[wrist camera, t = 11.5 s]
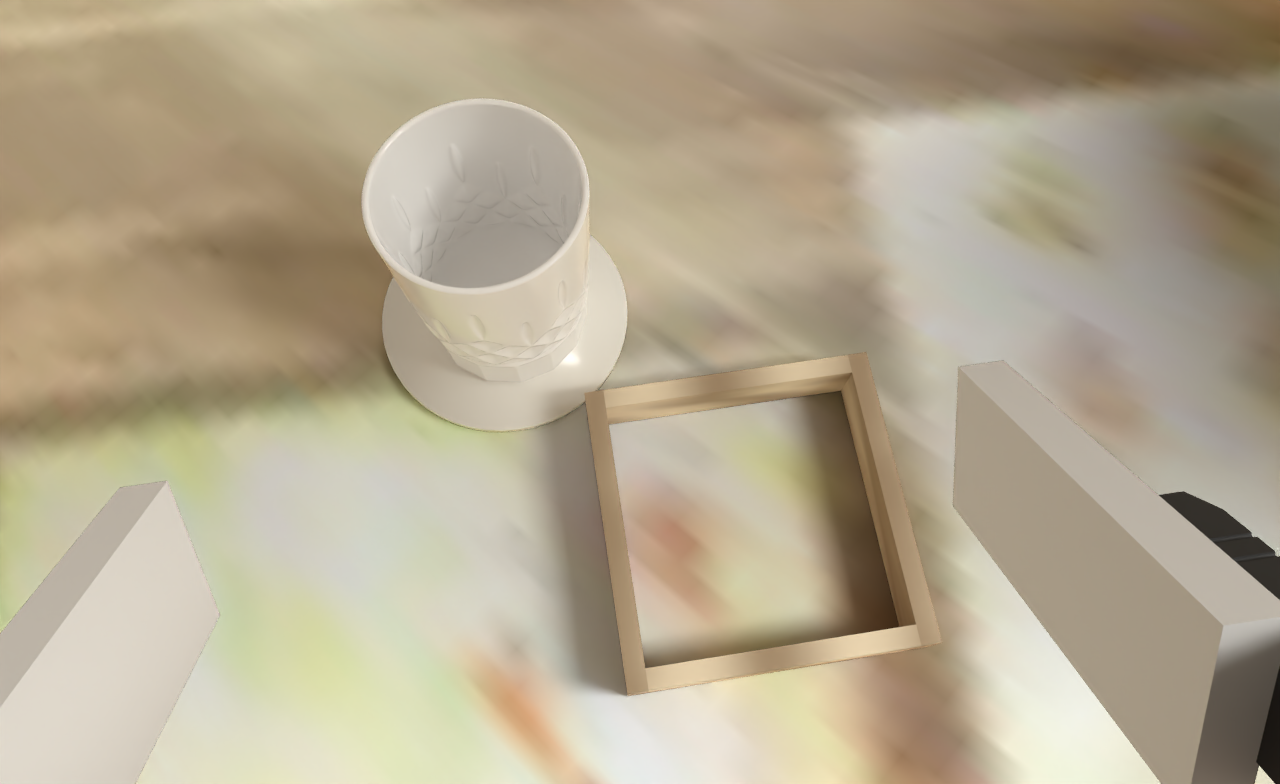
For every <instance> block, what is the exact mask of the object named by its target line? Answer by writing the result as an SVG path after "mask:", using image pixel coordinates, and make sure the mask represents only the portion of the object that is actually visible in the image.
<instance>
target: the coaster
mask: <svg viewBox="0 0 1280 784" xmlns="http://www.w3.org/2000/svg"><path fill="white" fill-rule="evenodd" d="M586 305H587V316H586V319H585V322H584V325H583V328H582V331H581V334H580V338H579V341H578V344H577V346H576V347H575V348H574V349H573V350H572V351H571V352H570V353H569V354H568V355H567V356H566V357H565V358H564V359H563V360H562V362H561V363H560V364H559V365H558V366H557V367H556V368H555V369H554V370H551V371H549V372H546V373H544V374H541V375H539V376H536V377H534V378H531V379H529V380H526V381H524V382H502V381H486V380H484V379H482V378H480V377H478V376H476V375H474V374H473V373H471V372H469V371H467V370H465V369H463V368H461V367H459V366H457V365H456V363H455V362H454V361H453V359H452V358H451V356H450V355H449V354H448V352H447V351H446V349H445V348H444V347H443V345H442V344H441V342H440V341H439V340H438V339H437V338H436V337H435V336H434V335H433V334H432V333H431V332H430V331H429V329H428V328H427V326H426V325H425V323H424V322H423V321H422V319H421V318H420V317H419V315H418V313H417V312H416V310H415V309H414V308H413V306H412V305H411V304H410V302H409V301H408V299H407V298H406V296H405V294H404V293H403V291H402V290H401V288H400V286H399V285H398V283H397V282H396V280H395V278H394V277H393V278H392V280H391V282H390V285H389V287H388V290H387V294H386V297H385V300H384V307H383V313H382V333H383V340H384V346H385V349H386V353H387V356H388V359H389V361H390V363H391V365H392V368H393V370H394V372H395V373H396V375H397V377H398V378H399V380H400V381H401V383H402V384H403V386H404V387H405V388H406V390H407V391H408V392H409V393H410V394H411V395H412V396H413V397H414V399H416V400H417V401H418V402H419V403H420V404H421V405H423V406H424V407H425V408H426V409H428V410H429V411H431V412H432V413H434V414H435V415H437V416H439V417H440V418H442V419H445V420H447V421H449V422H451V423H453V424H456V425H459V426H463V427H466V428H469V429H474V430H480V431H486V432H511V431H521V430H526V429H531V428H535V427H538V426H541V425H544V424H547V423H550V422H553V421H555V420H557V419H559V418H561V417H563V416H565V415H567V414H569V413H570V412H572V411H573V410H575V409H576V408H578V407H579V406H581V405H582V404H583V403H584V402H585V395H584V393H585V392H592V391H597V390H598V389H599V388H600V387H601V386H602V385H603V383H604V382H605V380H606V379H607V378H608V376H609V375H610V373H611V372H612V370H613V368H614V366H615V364H616V362H617V360H618V358H619V356H620V353H621V350H622V348H623V345H624V341H625V336H626V331H627V316H628V310H627V300H626V293H625V289H624V285H623V281H622V279H621V276H620V274H619V271H618V269H617V267H616V266H615V264H614V262H613V260H612V259H611V257H610V256H609V254H608V253H607V252H606V250H605V249H604V248H603V247H602V245H601V244H600V243H599V242H598V241H597V240H596V239H595V238H594V237H593V236H592V235H590V258H589V283H588V292H587V298H586Z"/></svg>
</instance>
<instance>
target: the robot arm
mask: <svg viewBox="0 0 1280 784" xmlns="http://www.w3.org/2000/svg"><path fill="white" fill-rule="evenodd" d="M953 507H954V508H955V509H956V511H957V512H958V513H959V515H960V516H961V517H962V519H963V520H964V521H965V523H966V524H967V525H968V527H969V528H970V529H971V531H972V532H973V533H974V535H975V536H976V537H977V539H978V540H979V541H980V543H981V544H982V545H983V547H984V548H985V549H986V551H987V552H988V553H989V555H990V556H991V557H992V559H993V560H994V561H995V563H996V564H997V565H998V567H999V568H1000V569H1001V571H1002V572H1003V573H1004V575H1005V576H1006V577H1007V579H1008V580H1009V581H1010V583H1011V584H1012V585H1013V587H1014V588H1015V589H1016V591H1017V592H1018V593H1019V595H1020V596H1021V597H1022V599H1023V600H1024V601H1025V603H1026V604H1027V605H1028V607H1029V608H1030V609H1031V611H1032V612H1033V613H1034V615H1035V616H1036V617H1037V619H1038V620H1039V621H1040V623H1041V624H1042V625H1043V627H1044V628H1045V629H1046V631H1047V632H1048V633H1049V635H1050V636H1051V637H1052V639H1053V640H1054V641H1055V643H1056V644H1057V645H1058V647H1059V648H1060V649H1061V651H1062V652H1063V653H1064V655H1065V656H1066V657H1067V659H1068V660H1069V661H1070V663H1071V664H1072V665H1073V667H1074V668H1075V669H1076V671H1077V672H1078V673H1079V675H1080V676H1081V677H1082V679H1083V680H1084V681H1085V683H1086V684H1087V685H1088V687H1089V688H1090V689H1091V691H1092V692H1093V693H1094V695H1095V696H1096V697H1097V699H1098V700H1099V701H1100V703H1101V704H1102V705H1103V707H1104V708H1105V709H1106V711H1107V712H1108V713H1109V715H1110V716H1111V717H1112V719H1113V720H1114V721H1115V723H1116V724H1117V725H1118V727H1119V728H1120V729H1121V731H1122V732H1123V733H1124V735H1125V736H1126V737H1127V739H1128V740H1129V741H1130V743H1131V744H1132V745H1133V747H1134V748H1135V749H1136V751H1137V752H1138V753H1139V755H1140V756H1141V757H1142V759H1143V760H1144V761H1145V763H1146V764H1147V765H1148V767H1149V768H1150V769H1151V771H1152V772H1153V773H1154V775H1155V776H1156V777H1157V779H1158V780H1159V781H1160V783H1161V784H1254V783H1255V779H1256V775H1257V771H1258V767H1259V766H1260V767H1261V768H1262V769H1263V770H1264V771H1265V772H1266V774H1267V775H1268V776H1269V777H1270V778H1271V779H1272V780H1273V781H1274V783H1275V784H1280V556H1279V557H1277V556H1276V555H1275V551H1274V550H1273V549H1271V548H1270V547H1269V546H1268V545H1266V544H1265V543H1264V542H1263V541H1261V540H1260V539H1259V538H1258V537H1252V535H1251V532H1250V531H1249V530H1248V529H1247V528H1245V527H1244V526H1243V525H1242V524H1240V523H1239V522H1238V521H1237V520H1235V519H1234V518H1233V517H1232V516H1230V515H1229V514H1228V513H1227V512H1225V511H1224V510H1223V509H1221V508H1219V507H1217V506H1214V505H1212V504H1210V503H1208V502H1206V501H1203V500H1201V499H1199V498H1197V497H1195V496H1192V495H1190V494H1188V493H1186V492H1184V491H1183V492H1176V493H1169V494H1163V495H1158V494H1157V493H1155V492H1154V491H1153V490H1152V489H1151V488H1150V487H1149V486H1147V485H1146V484H1145V483H1144V482H1143V481H1142V480H1140V479H1139V478H1138V477H1137V476H1136V475H1135V474H1134V473H1132V472H1131V471H1130V470H1129V469H1128V468H1127V467H1125V466H1124V465H1123V464H1122V463H1121V462H1120V461H1119V460H1117V459H1116V458H1115V457H1114V456H1113V455H1112V454H1110V453H1109V452H1108V451H1107V450H1106V449H1105V448H1104V447H1102V446H1101V445H1100V444H1099V443H1098V442H1097V441H1095V440H1094V439H1093V438H1092V437H1091V436H1090V435H1089V434H1087V433H1086V432H1085V431H1084V430H1083V429H1082V428H1080V427H1079V426H1078V425H1077V424H1076V423H1075V422H1074V421H1072V420H1071V419H1070V418H1069V417H1068V416H1067V415H1065V414H1064V413H1063V412H1062V411H1061V410H1060V409H1059V408H1057V407H1056V406H1055V405H1054V404H1053V403H1052V402H1050V401H1049V400H1048V399H1047V398H1046V397H1045V396H1044V395H1042V394H1041V393H1040V392H1039V391H1038V390H1037V389H1035V388H1034V387H1033V386H1032V385H1031V384H1030V383H1029V382H1027V381H1026V380H1025V379H1024V378H1023V377H1022V376H1020V375H1019V374H1018V373H1017V372H1016V371H1015V370H1014V369H1012V368H1011V367H1010V366H1009V365H1008V364H1007V363H1005V362H1004V361H1003V360H1002V361H995V362H988V363H981V364H974V365H968V366H961V367H958V388H957V413H956V438H955V463H954V488H953ZM219 617H220V613H219V611H218V608H217V606H216V603H215V601H214V598H213V596H212V593H211V590H210V588H209V585H208V583H207V580H206V578H205V575H204V573H203V570H202V568H201V565H200V562H199V560H198V557H197V555H196V552H195V550H194V547H193V545H192V542H191V540H190V537H189V534H188V532H187V529H186V527H185V524H184V522H183V519H182V517H181V514H180V512H179V509H178V506H177V504H176V501H175V499H174V496H173V494H172V491H171V489H170V486H169V484H168V481H162V482H155V483H148V484H141V485H134V486H127V487H120V488H119V489H118V490H117V492H116V493H115V494H114V495H113V496H112V498H111V499H110V500H109V501H108V503H107V504H106V505H105V506H104V507H103V509H102V510H101V511H100V512H99V513H98V515H97V516H96V517H95V518H94V520H93V521H92V522H91V523H90V524H89V526H88V527H87V528H86V529H85V531H84V532H83V533H82V534H81V535H80V537H79V538H78V539H77V540H76V542H75V543H74V544H73V545H72V546H71V548H70V549H69V550H68V551H67V553H66V554H65V555H64V556H63V557H62V559H61V560H60V561H59V562H58V564H57V565H56V566H55V567H54V568H53V570H52V571H51V572H50V573H49V575H48V576H47V577H46V578H45V579H44V581H43V582H42V583H41V584H40V586H39V587H38V588H37V589H36V590H35V592H34V593H33V594H32V595H31V597H30V598H29V599H28V600H27V601H26V603H25V604H24V605H23V606H22V608H21V609H20V610H19V611H18V612H17V614H16V615H15V616H14V617H13V619H12V620H11V621H10V622H9V623H8V625H7V626H6V627H5V628H4V630H3V631H2V632H1V633H0V784H135V783H136V781H137V780H138V778H139V776H140V774H141V772H142V770H143V768H144V766H145V764H146V762H147V760H148V758H149V756H150V754H151V752H152V750H153V748H154V746H155V744H156V742H157V740H158V738H159V736H160V734H161V732H162V730H163V728H164V726H165V724H166V722H167V720H168V718H169V716H170V714H171V712H172V710H173V708H174V706H175V704H176V702H177V700H178V698H179V696H180V694H181V692H182V690H183V688H184V686H185V684H186V682H187V680H188V678H189V676H190V674H191V672H192V670H193V668H194V666H195V664H196V662H197V660H198V658H199V656H200V654H201V652H202V650H203V648H204V646H205V644H206V642H207V640H208V638H209V636H210V634H211V632H212V630H213V628H214V626H215V624H216V622H217V620H218V619H219Z"/></svg>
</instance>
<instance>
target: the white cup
mask: <svg viewBox="0 0 1280 784" xmlns="http://www.w3.org/2000/svg"><path fill="white" fill-rule="evenodd" d="M361 205H362V216H363V221H364V225H365V228H366V231H367V234H368V236H369V238H370V240H371V242H372V244H373V246H374V247H375V249H376V250H377V252H378V253H379V255H380V257H381V258H382V260H383V261H384V263H385V264H386V266H387V267H388V269H389V271H390V272H391V274H392V275H393V277H394V278H395V280H396V282H397V283H398V285H399V286H400V288H401V290H402V291H403V293H404V294H405V296H406V298H407V299H408V301H409V302H410V304H411V305H412V306H413V308H414V309H415V310H416V312H417V313H418V315H419V317H420V318H421V319H422V321H423V322H424V323H425V325H426V326H427V328H428V329H429V331H430V332H431V333H432V334H433V335H434V336H435V337H436V338H437V339H438V340H439V341H440V342H441V344H442V345H443V347H444V348H445V349H446V351H447V352H448V354H449V355H450V356H451V358H452V359H453V361H454V362H455V363H456V365H457V366H459V367H461V368H463V369H465V370H467V371H469V372H471V373H473V374H474V375H476V376H478V377H480V378H482V379H484V380H486V381H502V382H524V381H526V380H529V379H531V378H534V377H536V376H539V375H541V374H544V373H546V372H549V371H551V370H554V369H555V368H556V367H557V366H558V365H559V364H560V363H561V362H562V360H563V359H564V358H565V357H566V356H567V355H568V354H569V353H570V352H571V351H572V350H573V349H574V348H575V347H576V346H577V344H578V341H579V338H580V334H581V331H582V328H583V325H584V322H585V319H586V316H587V305H586V298H587V292H588V283H589V258H590V234H589V179H588V173H587V169H586V166H585V163H584V160H583V158H582V156H581V154H580V152H579V150H578V148H577V146H576V145H575V143H574V142H573V140H572V139H571V138H570V137H569V135H568V134H567V133H566V132H565V131H564V130H563V129H562V128H561V127H560V126H559V125H557V124H556V123H555V122H554V121H552V120H551V119H550V118H548V117H547V116H545V115H543V114H542V113H540V112H538V111H536V110H534V109H531V108H529V107H527V106H524V105H521V104H518V103H514V102H510V101H505V100H499V99H488V98H476V99H465V100H458V101H453V102H449V103H445V104H442V105H439V106H436V107H433V108H431V109H429V110H426V111H424V112H422V113H420V114H418V115H417V116H415V117H413V118H412V119H410V120H408V121H407V122H406V123H404V124H403V125H402V126H400V127H399V128H398V129H397V130H396V131H394V132H393V133H392V134H391V135H390V136H389V137H388V138H387V140H386V141H385V142H384V143H383V144H382V146H381V147H380V148H379V150H378V151H377V153H376V154H375V156H374V158H373V159H372V161H371V163H370V166H369V168H368V170H367V173H366V176H365V179H364V183H363V189H362V199H361Z"/></svg>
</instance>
